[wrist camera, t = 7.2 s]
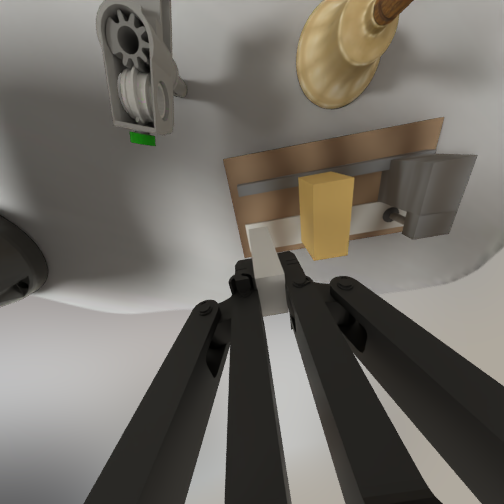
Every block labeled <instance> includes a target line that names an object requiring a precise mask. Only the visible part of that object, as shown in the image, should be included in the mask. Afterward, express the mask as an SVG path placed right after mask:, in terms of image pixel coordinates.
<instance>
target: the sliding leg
mask: <svg viewBox="0 0 504 504" xmlns="http://www.w3.org/2000/svg"><path fill="white" fill-rule="evenodd" d="M298 181H299V202H300V224H301V241H302V243H303V244H304V246H305V247H306V249H307V251H308V252H309V254H310V255H311V257H312V259H313V260H314V261H315V260H321V259H327V258H333V257H340V256H346V255H348V245H349V234H350V222H351V211H352V200H353V189H354V177H351V176H347V175H343V174H339V173H335V172H325V173H320V174H314V175H309V176H304V177H298Z"/></svg>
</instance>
